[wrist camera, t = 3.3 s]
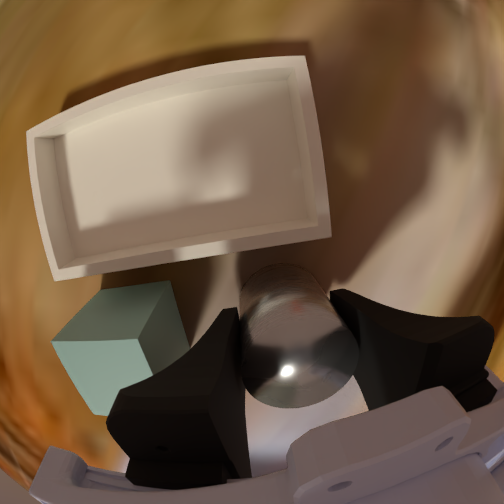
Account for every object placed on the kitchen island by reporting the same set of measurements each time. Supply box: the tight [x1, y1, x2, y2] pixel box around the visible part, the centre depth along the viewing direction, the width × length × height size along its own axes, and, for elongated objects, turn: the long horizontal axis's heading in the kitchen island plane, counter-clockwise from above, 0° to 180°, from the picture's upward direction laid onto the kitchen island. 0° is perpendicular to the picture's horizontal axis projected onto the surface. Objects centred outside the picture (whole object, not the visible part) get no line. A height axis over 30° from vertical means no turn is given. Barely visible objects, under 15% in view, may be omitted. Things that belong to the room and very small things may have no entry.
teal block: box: [51, 280, 190, 416], centre depth 11 cm, size 4×4×5 cm
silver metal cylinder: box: [239, 263, 359, 408], centre depth 11 cm, size 4×4×5 cm
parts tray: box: [26, 56, 332, 281], centre depth 10 cm, size 12×7×2 cm, turn 98°
